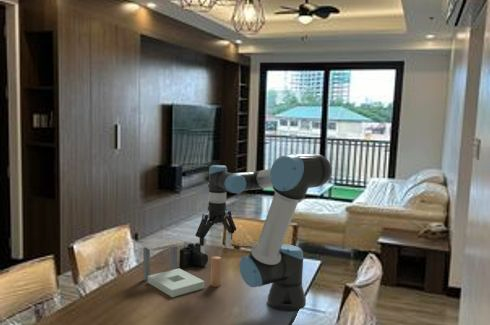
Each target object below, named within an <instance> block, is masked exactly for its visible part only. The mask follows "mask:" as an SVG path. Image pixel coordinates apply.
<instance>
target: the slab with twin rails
mask: <svg viewBox="0 0 490 325" xmlns="http://www.w3.org/2000/svg"><path fill="white" fill-rule="evenodd" d="M142 246H143V247H142V248H143V250H142V251H143V269H142V270H143V273H142V274H143V275H142V276H143V278H142V279H143V281H145V282H148V276H149V275H150V274H151V273H150V270H151V269H150V268H151V267H150V266H151V261H150V260H151V258H150V257H151V256H150V255H151V254H150V253H151V252H156V251H161V250H164V249H165V250H166V249H170V270H174V269H178V247H180V246H185V242H184V241H183V240H180V239H177V238H169V239H164V240H158V241H154V242H149V243H148V242H147V243H143V245H142Z"/></svg>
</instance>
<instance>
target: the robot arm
mask: <svg viewBox="0 0 490 325" xmlns="http://www.w3.org/2000/svg"><path fill="white" fill-rule="evenodd" d="M332 170H333V169H332V164H331V162H330V160H328V158H327V157H325V156H324V155H322V154H318V153H303V154H300V153H299V154H293V153H292V154H291V153H289V154H286V155H281V156H279V157H278V158H276V159H275V160H274V161H273V163H272V165H271V167H270V168H267V169H263V170H256V171H249V172H248V171H246V172H228V167H227V166H226V165H220V164H213V165H211V166H209V172H208V173H209V174H208V204H207V206H208V207H207V208H208V214H205V213H202V215H201V216H202V217H201V221H200V223H199V225H198V227H197V230H196V231H195V232H196V233H195V237H197V238H199V241H198V243H199V244H200V245H201V252H202V253H204V254H207V238H206V236H207V234H208V232H209V231H210V230H211V228H212V226H214V225H215V224H222V225H223V227H224V228H225V230H226V233H225V234H226V235H225V247H226V248H229V249H231V248H232V240H233V234H234V233H235V231H237V227H236V224H235V222H234V219H233V216H232V211H231V210H227V202H226V201H227V192H229V193H232V194H241V193H242V192H243V191H244V192H245V191H253V190H264V189H268V188H272V190H273V191H274V193H273V197H272V200H271V203H270V206H269V209H268V212H267V214H266V218H265V219H264V220H265V221H264V223H263V226H262V229H261V232H260V235H259V238H258V240H257V243H255V244H254V245H253V246H252V247H251V248H250V252H249V254H248V255H245V256H243V257H241V259H240V260H239V272H240V275H241V278H242V280H243V281H244V283H245V284H246V285H247V287H248V286H249V287H250V288H257V287H258V288H259V287H262V286H267V285H270V284H271V286H270V289H269V293H268V295H267V304H268V305H269V306H270V307H271V308H273V309H276V310H279V311H287V312H293V311H299V310H302V309H304V308H305V307H306V304H307V297H306V295H305V292H304V287H303V271H304V269H303V268H304V252H303V249H302V248H301V247H299V246H296V245H292V244H288V243H287V244H286V243H284V241H285V238H286V235H287V233H288V230H289V227H290V225H291V222H292V219H293V217H294V214H295V212H296V208H297V206H298V204H299V201H302V200H304V199H305V197H306V195H307V194H308V193H307V192H308V189H312V188H319V187H322V186H323V185H325V184H327V183H328V181H329V180H330V178H331V176H332V172H333V171H332ZM225 217H226V218H225Z"/></svg>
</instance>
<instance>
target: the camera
mask: <svg viewBox="0 0 490 325" xmlns="http://www.w3.org/2000/svg"><path fill="white" fill-rule="evenodd" d="M178 261H179V262H178V263H179V265H178V266H179V267H178V268H180V269H185V268H187V267H189V266H190V267H191V266H194V267H195V266H199V267H205V266H206V265H207V263H208V262H209V256H208V254H207V253H205V254H204V253H202V252H201V245H200V244H199V242H196V243H195V244H194V243H192V242H190V243H188V244H187V246H185V245H183V247H182V248H180V250H179V260H178Z"/></svg>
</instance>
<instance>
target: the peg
mask: <svg viewBox="0 0 490 325" xmlns="http://www.w3.org/2000/svg"><path fill="white" fill-rule="evenodd" d="M210 286H211V287H215V288H217V287H220V286H222V257H220V256H211V258H210Z"/></svg>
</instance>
